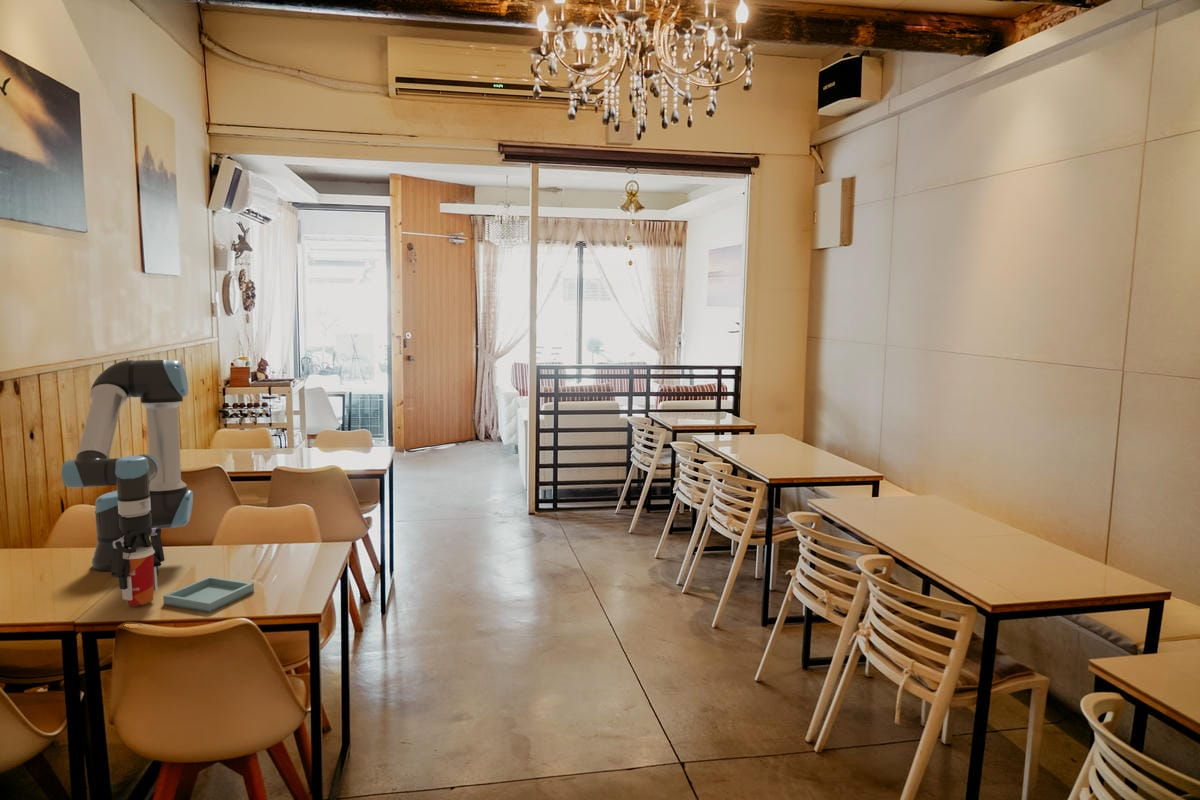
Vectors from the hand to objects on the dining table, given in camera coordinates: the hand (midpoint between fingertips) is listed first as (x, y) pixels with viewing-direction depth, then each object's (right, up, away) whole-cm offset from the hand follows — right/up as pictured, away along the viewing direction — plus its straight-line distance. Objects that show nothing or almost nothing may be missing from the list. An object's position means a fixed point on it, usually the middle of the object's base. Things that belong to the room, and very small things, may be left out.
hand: (140, 593), depth 206 cm
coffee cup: (0, -2, 0) cm, 2 cm away
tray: (+16, -3, +5) cm, 17 cm away
